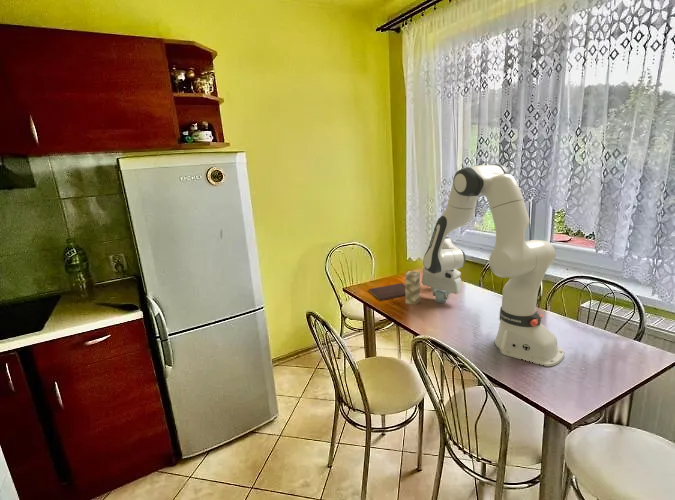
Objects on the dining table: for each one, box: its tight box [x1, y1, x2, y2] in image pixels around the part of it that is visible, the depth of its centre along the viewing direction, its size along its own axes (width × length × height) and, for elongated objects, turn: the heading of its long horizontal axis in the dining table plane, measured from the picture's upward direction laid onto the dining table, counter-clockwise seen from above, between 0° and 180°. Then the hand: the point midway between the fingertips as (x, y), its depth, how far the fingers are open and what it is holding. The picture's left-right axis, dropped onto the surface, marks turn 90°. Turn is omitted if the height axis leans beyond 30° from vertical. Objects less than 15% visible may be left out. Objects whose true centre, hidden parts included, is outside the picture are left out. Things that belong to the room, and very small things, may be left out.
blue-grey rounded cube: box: [434, 290, 447, 304], centre depth 178 cm, size 5×5×5 cm
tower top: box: [405, 270, 421, 286], centre depth 175 cm, size 5×5×5 cm
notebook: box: [368, 282, 406, 302], centre depth 192 cm, size 15×20×2 cm
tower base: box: [405, 292, 421, 306], centre depth 178 cm, size 5×5×5 cm
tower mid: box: [404, 282, 421, 295], centre depth 177 cm, size 5×5×5 cm
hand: (440, 297), depth 178 cm, fingers closed on blue-grey rounded cube, 5 cm apart
